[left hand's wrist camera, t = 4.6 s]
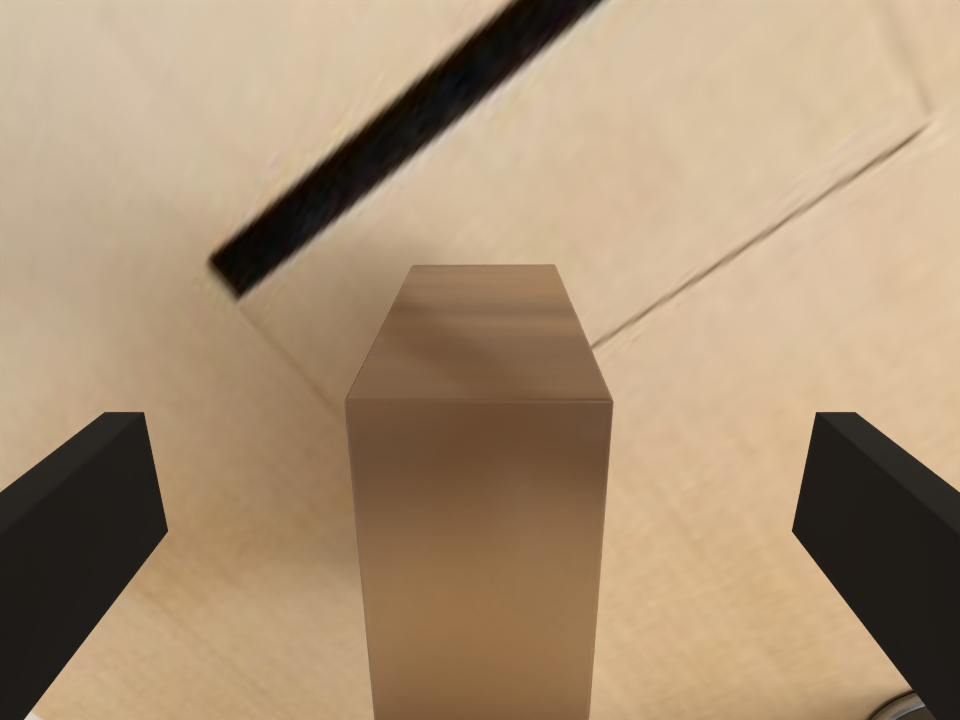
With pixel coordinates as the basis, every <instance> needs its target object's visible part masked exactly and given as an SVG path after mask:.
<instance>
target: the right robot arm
mask: <svg viewBox="0 0 960 720" xmlns="http://www.w3.org/2000/svg"><path fill="white" fill-rule="evenodd" d="M871 720H936V719H935V718H934V716H933V715H932V714H931V712H930V711H929V710H928V708H927V707H926V706H925V705H924V703H923V702H922V701H921V699H920V698H919V697H918V695H917V694H916V693H913V694H910V695H907V696H905V697H902V698H900V699H898V700H896V701H894V702H892V703H891V704H889V705H887V706H886V707H885V708H883V709H882V710H881V711H879V712H878V713H877V714H876V715H875V716H874V717H873V718H872V719H871Z"/></svg>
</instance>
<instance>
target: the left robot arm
mask: <svg viewBox="0 0 960 720" xmlns="http://www.w3.org/2000/svg"><path fill="white" fill-rule="evenodd" d="M167 532H168V528H167V523H166V518H165V513H164V509H163V504H162V499H161V494H160V489H159V484H158V479H157V474H156V469H155V464H154V459H153V455H152V450H151V445H150V440H149V435H148V430H147V425H146V420H145V415H144V412H104V413H103V414H102V415H100V416H99V417H98V418H96V419H95V420H94V421H93V422H91V423H90V424H89V425H87V426H86V427H85V428H83V429H82V430H81V431H80V432H78V433H77V434H76V435H74V436H73V437H72V438H70V439H69V440H68V441H67V442H65V443H64V444H63V445H61V446H60V447H59V448H57V449H56V450H55V451H54V452H52V453H51V454H50V455H48V456H47V457H46V458H44V459H43V460H42V461H41V462H39V463H38V464H37V465H35V466H34V467H33V468H31V469H30V470H29V471H28V472H26V473H25V474H24V475H22V476H21V477H20V478H18V479H17V480H16V481H15V482H13V483H12V484H11V485H9V486H8V487H7V488H5V489H4V490H3V491H2V492H0V720H24V719H25V718H26V716H27V715H28V714H29V712H30V711H31V710H32V708H33V707H34V706H35V705H36V703H37V702H38V701H39V699H40V698H41V697H42V695H43V694H44V693H45V691H46V690H47V689H48V688H49V686H50V685H51V684H52V682H53V681H54V680H55V678H56V677H57V676H58V674H59V673H60V672H61V671H62V669H63V668H64V667H65V665H66V664H67V663H68V661H69V660H70V659H71V658H72V656H73V655H74V654H75V652H76V651H77V650H78V648H79V647H80V646H81V644H82V643H83V642H84V641H85V639H86V638H87V637H88V635H89V634H90V633H91V631H92V630H93V629H94V627H95V626H96V625H97V624H98V622H99V621H100V620H101V618H102V617H103V616H104V614H105V613H106V612H107V610H108V609H109V608H110V607H111V605H112V604H113V603H114V601H115V600H116V599H117V597H118V596H119V595H120V593H121V592H122V591H123V590H124V588H125V587H126V586H127V584H128V583H129V582H130V580H131V579H132V578H133V576H134V575H135V574H136V573H137V571H138V570H139V569H140V567H141V566H142V565H143V563H144V562H145V561H146V559H147V558H148V557H149V556H150V554H151V553H152V552H153V550H154V549H155V548H156V546H157V545H158V544H159V543H160V541H161V540H162V539H163V537H164V536H165V535H166V533H167ZM792 532H793V533H794V535H795V536H796V537H797V539H798V540H799V541H800V543H801V544H802V545H803V546H804V548H805V549H806V550H807V552H808V553H809V554H810V556H811V557H812V558H813V560H814V561H815V562H816V563H817V565H818V566H819V567H820V569H821V570H822V571H823V573H824V574H825V575H826V576H827V578H828V579H829V580H830V582H831V583H832V584H833V586H834V587H835V588H836V590H837V591H838V592H839V593H840V595H841V596H842V597H843V599H844V600H845V601H846V603H847V604H848V605H849V607H850V608H851V609H852V610H853V612H854V613H855V614H856V616H857V617H858V618H859V620H860V621H861V622H862V624H863V625H864V626H865V627H866V629H867V630H868V631H869V633H870V634H871V635H872V637H873V638H874V639H875V641H876V642H877V643H878V644H879V646H880V647H881V648H882V650H883V651H884V652H885V654H886V655H887V656H888V658H889V659H890V660H891V661H892V663H893V664H894V665H895V667H896V668H897V669H898V671H899V672H900V673H901V675H902V676H903V677H904V678H905V680H906V681H907V682H908V684H909V685H910V686H911V688H912V689H913V690H914V691H915V693H916V694H917V695H918V697H919V698H920V699H921V701H922V702H923V703H924V705H925V706H926V707H927V708H928V710H929V711H930V712H931V714H932V715H933V716H934V718H935V719H936V720H960V492H958V491H957V490H956V489H955V488H953V487H952V486H951V485H949V484H948V483H947V482H945V481H944V480H943V479H942V478H940V477H939V476H938V475H936V474H935V473H934V472H932V471H931V470H930V469H929V468H927V467H926V466H925V465H923V464H922V463H921V462H919V461H918V460H917V459H916V458H914V457H913V456H912V455H910V454H909V453H908V452H906V451H905V450H904V449H903V448H901V447H900V446H899V445H897V444H896V443H895V442H893V441H892V440H891V439H890V438H888V437H887V436H886V435H884V434H883V433H882V432H880V431H879V430H878V429H877V428H875V427H874V426H873V425H871V424H870V423H869V422H867V421H866V420H865V419H864V418H862V417H861V416H860V415H858V414H857V413H856V412H816V415H815V420H814V425H813V430H812V435H811V440H810V445H809V450H808V455H807V459H806V464H805V469H804V474H803V479H802V484H801V489H800V494H799V499H798V504H797V509H796V513H795V518H794V523H793V528H792Z"/></svg>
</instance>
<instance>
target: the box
mask: <svg viewBox="0 0 960 720" xmlns="http://www.w3.org/2000/svg"><path fill="white" fill-rule="evenodd" d="M345 413H346V424H347V434H348V445H349V455H350V466H351V477H352V487H353V498H354V508H355V519H356V530H357V540H358V551H359V561H360V572H361V583H362V593H363V604H364V615H365V625H366V636H367V646H368V657H369V668H370V678H371V689H372V699H373V710H374V720H589V714H590V701H591V688H592V675H593V662H594V649H595V636H596V623H597V610H598V597H599V584H600V571H601V558H602V545H603V531H604V518H605V505H606V492H607V479H608V466H609V453H610V440H611V427H612V414H613V400H612V397H611V395H610V392H609V390H608V388H607V385H606V383H605V381H604V378H603V376H602V374H601V371H600V369H599V367H598V364H597V362H596V360H595V357H594V355H593V353H592V350H591V348H590V345H589V343H588V341H587V338H586V336H585V334H584V331H583V329H582V327H581V324H580V322H579V320H578V317H577V315H576V313H575V310H574V308H573V306H572V303H571V301H570V298H569V296H568V294H567V291H566V289H565V287H564V284H563V282H562V280H561V277H560V275H559V273H558V270H557V268H556V266H555V265H413V266H412V267H411V269H410V271H409V273H408V275H407V277H406V279H405V281H404V283H403V285H402V287H401V289H400V291H399V293H398V295H397V297H396V299H395V301H394V303H393V305H392V307H391V309H390V311H389V313H388V315H387V317H386V319H385V321H384V323H383V325H382V327H381V329H380V331H379V333H378V335H377V337H376V339H375V341H374V343H373V345H372V347H371V349H370V351H369V353H368V355H367V357H366V359H365V361H364V363H363V365H362V367H361V369H360V371H359V373H358V375H357V377H356V379H355V381H354V383H353V385H352V387H351V389H350V391H349V393H348V395H347V397H346V399H345Z"/></svg>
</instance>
